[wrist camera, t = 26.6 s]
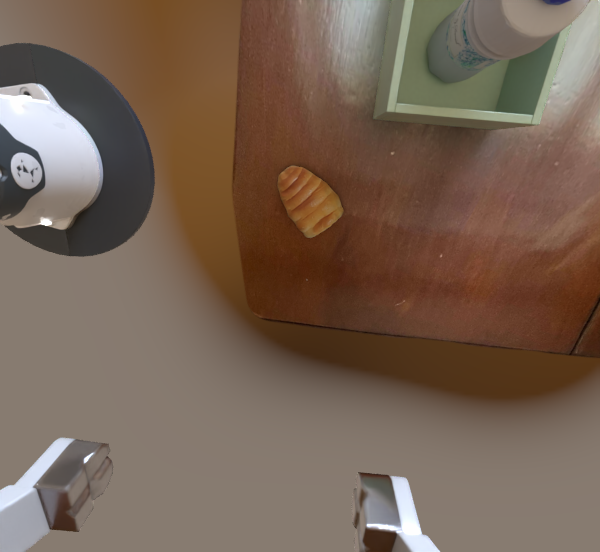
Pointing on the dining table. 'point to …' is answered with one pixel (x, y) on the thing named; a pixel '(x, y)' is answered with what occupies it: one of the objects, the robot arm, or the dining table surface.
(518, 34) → the bottle
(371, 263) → the dining table surface
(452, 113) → the open storage bin
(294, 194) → the pastry
